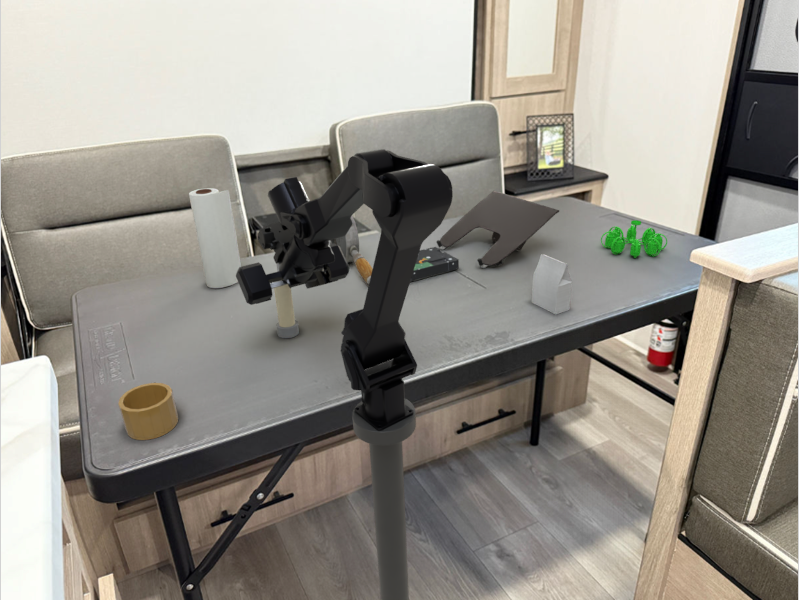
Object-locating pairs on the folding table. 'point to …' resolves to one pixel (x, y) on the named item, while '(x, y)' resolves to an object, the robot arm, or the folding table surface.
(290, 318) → the kitchen roll stand
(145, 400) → the holder
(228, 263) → the paper towel roll
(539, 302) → the white gabled box
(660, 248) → the chandelier
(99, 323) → the folding table surface
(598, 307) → the folding table surface
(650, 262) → the folding table surface
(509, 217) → the laptop tray
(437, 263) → the disk drive
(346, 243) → the magnifying glass
